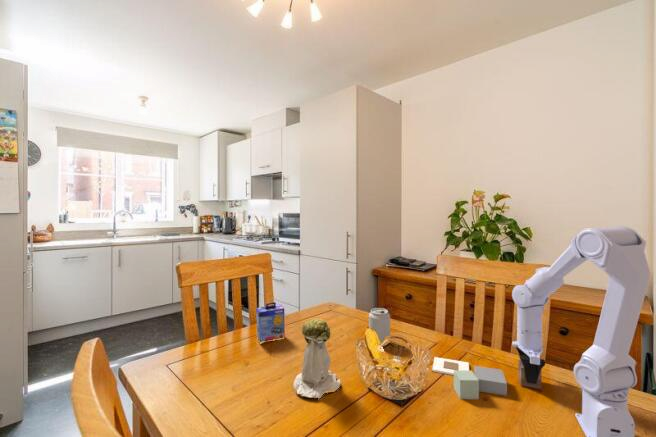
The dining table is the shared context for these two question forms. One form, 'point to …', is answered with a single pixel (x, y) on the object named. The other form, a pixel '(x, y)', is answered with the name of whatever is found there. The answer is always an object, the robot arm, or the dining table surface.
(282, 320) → the ink cartridge box
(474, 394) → the grey-green block
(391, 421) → the dining table surface
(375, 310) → the can
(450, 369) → the plaque
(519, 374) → the walnut block
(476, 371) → the slate plinth
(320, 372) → the grey statuette
